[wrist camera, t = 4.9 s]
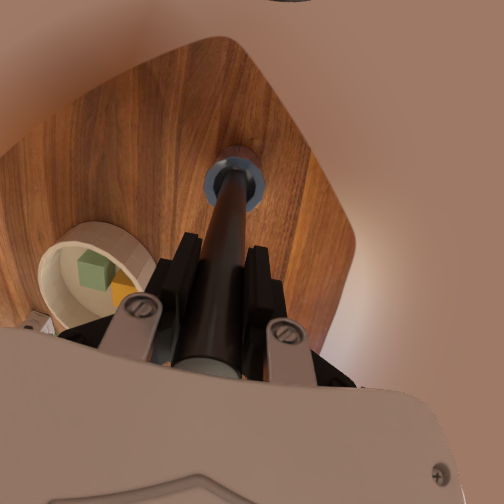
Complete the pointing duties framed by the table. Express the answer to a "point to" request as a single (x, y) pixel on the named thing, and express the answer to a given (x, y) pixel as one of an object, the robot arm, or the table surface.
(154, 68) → the table surface
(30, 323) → the ink box
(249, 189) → the holder
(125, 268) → the bowl
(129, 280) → the mustard cube
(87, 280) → the sage cube
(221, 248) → the stirring stick
